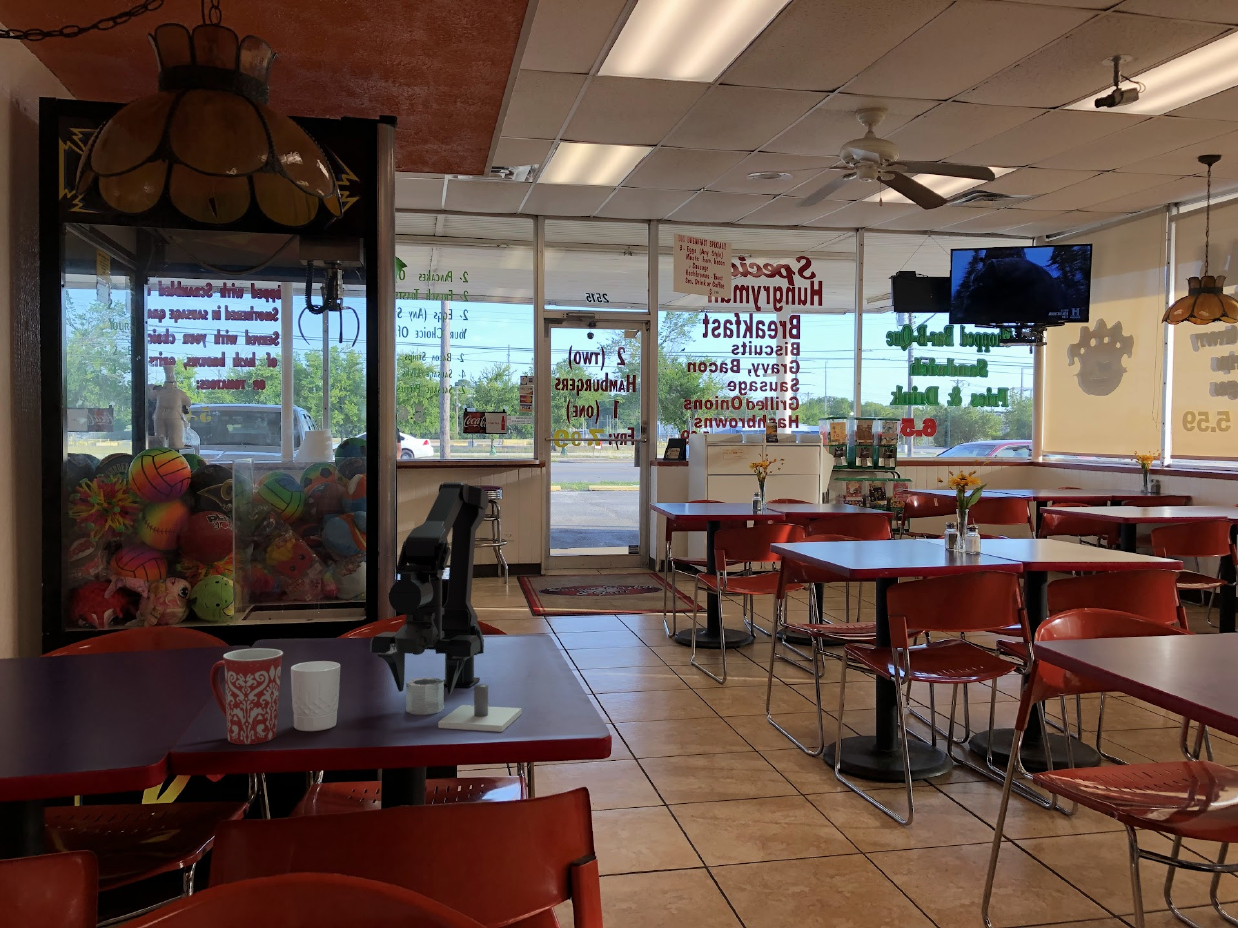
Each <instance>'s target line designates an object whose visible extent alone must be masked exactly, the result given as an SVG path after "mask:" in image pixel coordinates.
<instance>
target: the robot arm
mask: <svg viewBox="0 0 1238 928" xmlns="http://www.w3.org/2000/svg"><path fill="white" fill-rule="evenodd" d="M488 508H489V494H488V492H487V491H486V490H484V489H483V487H482V486H473V485H469V484H467V483H464V482H463V481H461V482H460V481H444V482H443V483H440V484H439V486H438V494H437V496H436V498H435V500H434V502H433V504H432V506H431V508H430V510H429V512H428V514H427V516H426V518H425V520H424V522H423V523H422V524H420V525H419V526H416V527H415V528H413V529H412V530H411V531H410V532H409V534H408V536H407V537H406V539H405V540H404V541H403V543H402V547H401V549H400V553H399V557H398V561H397V564H396V569H395V575H399V580H398V581H396V582H395V583H394V584H393V585H392V586H391V587H390V590H389V592H388V601H389V604H390V606H391V607H392V609H393V610H394V611H396V612H397V613H399V614H402V615H403V614H404V615H405V622H404V624H403V625H402V626H401V627H400V628H399V629H398V630H397V631H396V632H395V631H383V632H381V633H379V634H375V635H374V636H372V637H371V640H370V643H369V652H370V653H371V654H372V653H374V654H375V653H376V656H377V658H381V659H383V661H385V663H387V665H388V667H389V669H390V670H391V674H392V676H393V680H394V682H395V685H396V687H397V691H398V692H399V693H400V692H403V691H404V686H405V673H406V672H405V668H406V665H405V664H406V663H405V662H406V660H405V659H406V654H409V655H414V656H416V655H417V656H419V655H422V654H424V653H425V650H431V651H432V650H433V651H435V654H436V655H437V654H438V655H439V654H444V679H443V680H442V681H444V687H446V689H447V695H451V694H452V693H453V691H454V689H455V687H457V688H470V687H472V686H474V685H476V684H477V683H478V682H479V681H481V678H480V677H475V656H478V655H480V654H481V655H482V654H484V652H485V651H484V648H485V639H484V636H483V633H482V631H481V628H480V625H479V623H478V622H479V621H478V620H479V618H478V614H477V613H476V610H475V609H474V607H473V605H472V590H473V575H474V559H475V548H476V547H475V546H476V533H477V530H478V528H479V527H480V526H481V524H482V523H483V521H484V520H485V517H486V510H487V509H488ZM451 531H452V533H451V547H450V544H449V541H448V536H449V534H450V532H451ZM448 562H449V570H448V584H447V597H446V602H445V603H444V604H443V576H444V572H443V571H445V570H446V567H447V566H448V565H447V564H448Z"/></svg>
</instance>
